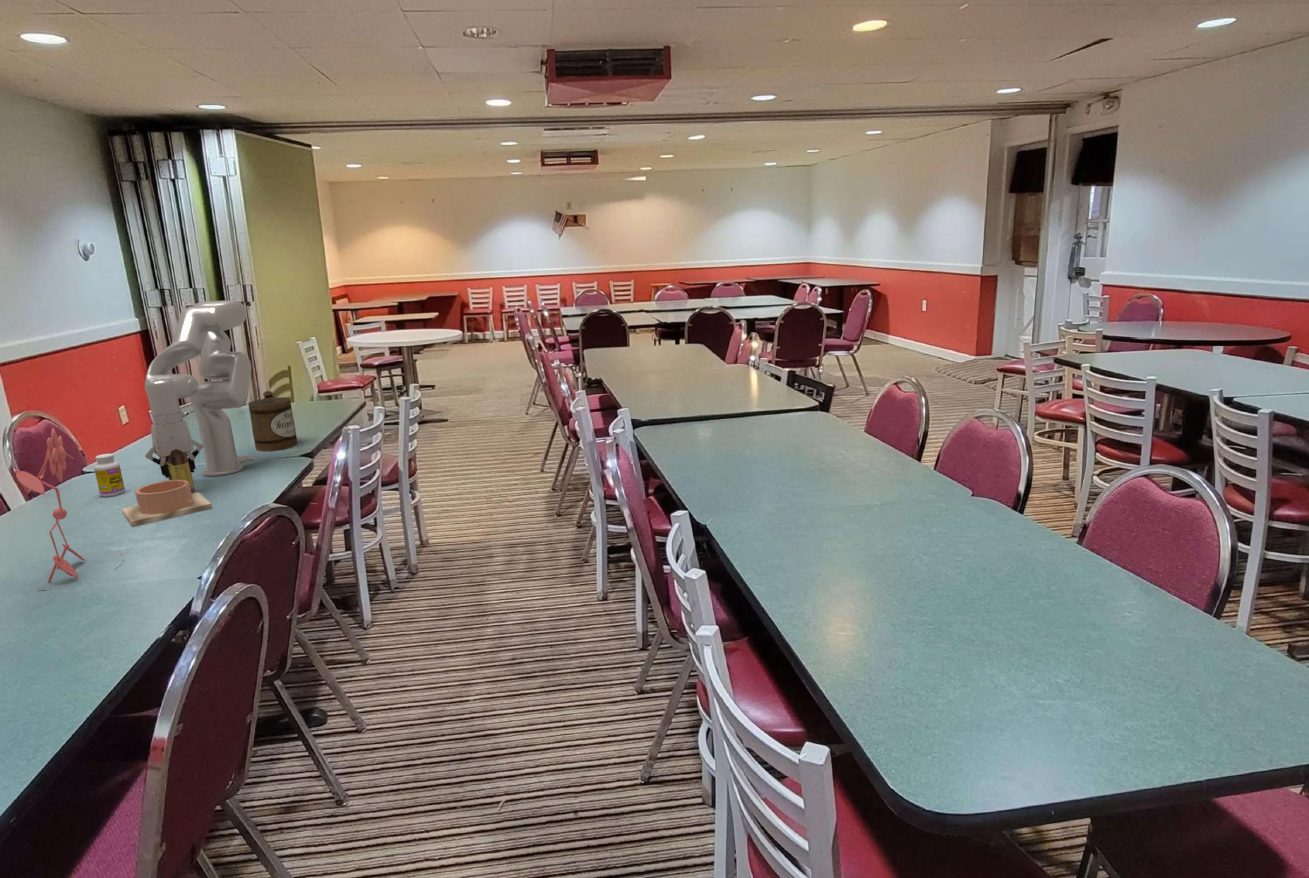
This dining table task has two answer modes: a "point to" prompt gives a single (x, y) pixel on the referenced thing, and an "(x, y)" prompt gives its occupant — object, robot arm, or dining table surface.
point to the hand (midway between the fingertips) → (179, 473)
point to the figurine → (57, 465)
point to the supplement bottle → (108, 476)
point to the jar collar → (164, 496)
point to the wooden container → (272, 423)
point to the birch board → (138, 518)
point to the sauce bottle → (179, 467)
